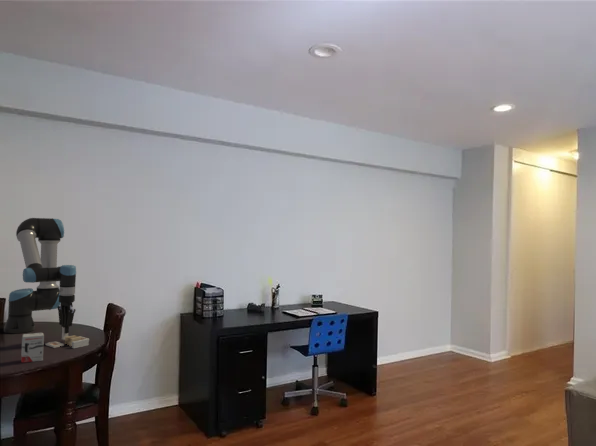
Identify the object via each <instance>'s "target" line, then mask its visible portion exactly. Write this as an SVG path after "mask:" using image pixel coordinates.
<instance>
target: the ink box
mask: <svg viewBox="0 0 596 446" xmlns="http://www.w3.org/2000/svg"><path fill="white" fill-rule="evenodd" d="M44 341H45V334H44V333H43V332H35V333H22V336H21V352H20V353H21V354H20V361H21V362H20V363H33V362H40V361H41V362H42V361H44V344H45V343H44Z"/></svg>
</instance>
